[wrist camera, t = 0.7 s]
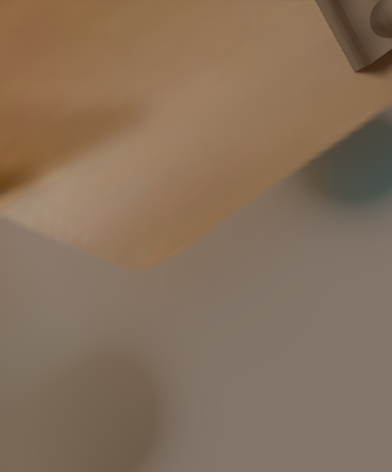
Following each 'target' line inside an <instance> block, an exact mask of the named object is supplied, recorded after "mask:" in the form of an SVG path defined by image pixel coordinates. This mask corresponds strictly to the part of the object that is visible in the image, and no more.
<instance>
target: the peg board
mask: <svg viewBox="0 0 392 472" xmlns="http://www.w3.org/2000/svg"><path fill="white" fill-rule="evenodd" d="M315 1H316V2H317V4H318V6H319V8H320V10H321V11H322V13H323V15H324V17H325V19H326V21H327V22H328V24H329V26H330V28H331V30H332V32H333V33H334V35H335V37H336V39H337V41H338V43H339V44H340V46H341V48H342V50H343V52H344V54H345V55H346V57H347V59H348V61H349V63H350V64H351V66H352V68H353V70H354V72H356V71H358V70H360V69H362V68H364V67H366V66H368V65H370V64H372V63H373V62H375V61H376V60H377V59H379V58H380V57H381V56H383V55H384V54H385V53H387V52H388V51H389V50H391V49H392V0H315Z"/></svg>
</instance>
